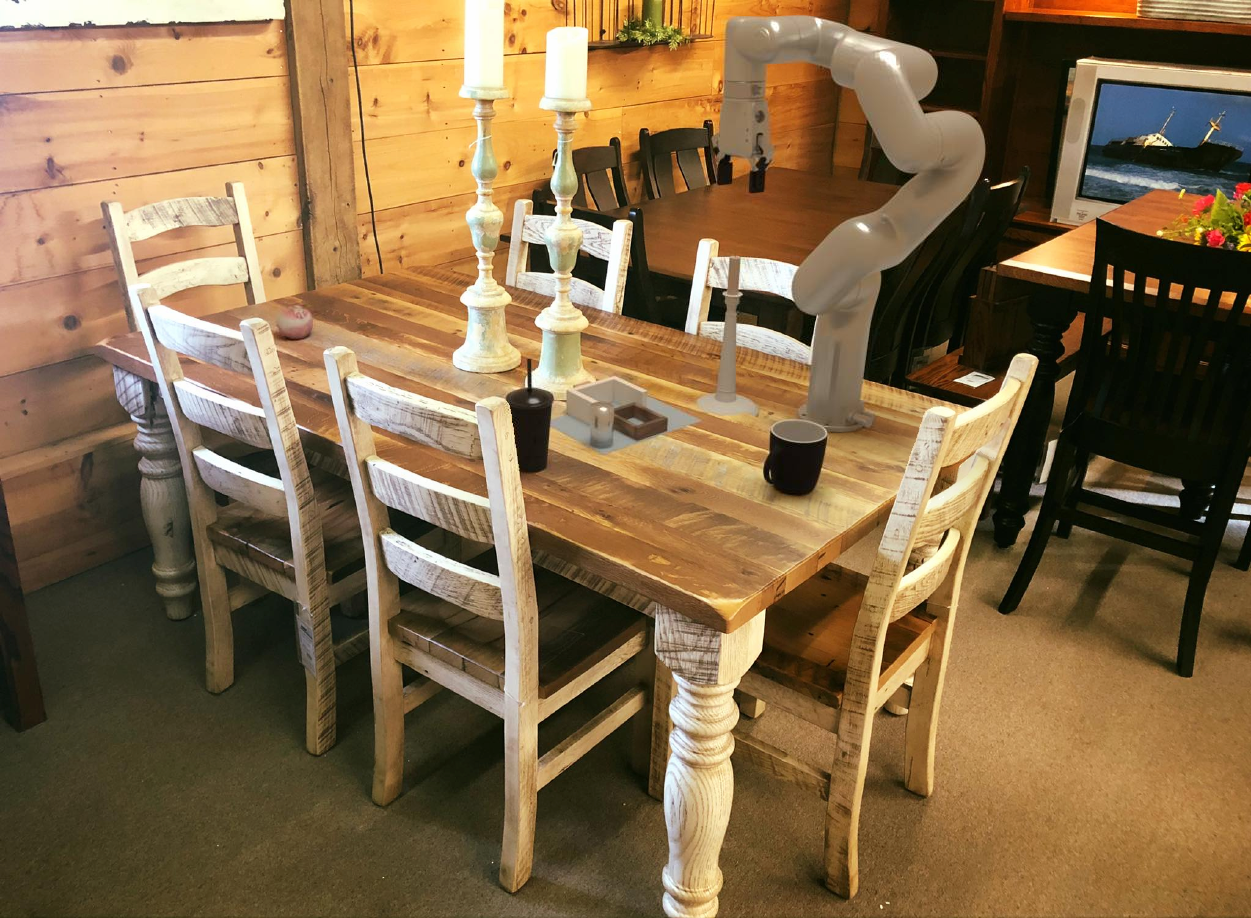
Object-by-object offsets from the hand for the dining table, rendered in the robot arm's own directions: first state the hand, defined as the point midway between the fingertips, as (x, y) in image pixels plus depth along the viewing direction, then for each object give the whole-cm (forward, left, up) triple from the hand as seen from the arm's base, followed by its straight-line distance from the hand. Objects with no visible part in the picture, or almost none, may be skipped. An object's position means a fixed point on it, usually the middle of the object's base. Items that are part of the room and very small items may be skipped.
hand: (740, 188), depth 196 cm
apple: (+76, +56, -39) cm, 103 cm away
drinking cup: (-10, +55, -39) cm, 68 cm away
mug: (-40, +26, -39) cm, 61 cm away
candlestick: (-11, +11, -39) cm, 42 cm away
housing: (+1, +32, -37) cm, 49 cm away
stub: (-10, +41, -37) cm, 56 cm away
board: (-5, +32, -38) cm, 50 cm away
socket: (-9, +32, -37) cm, 49 cm away
